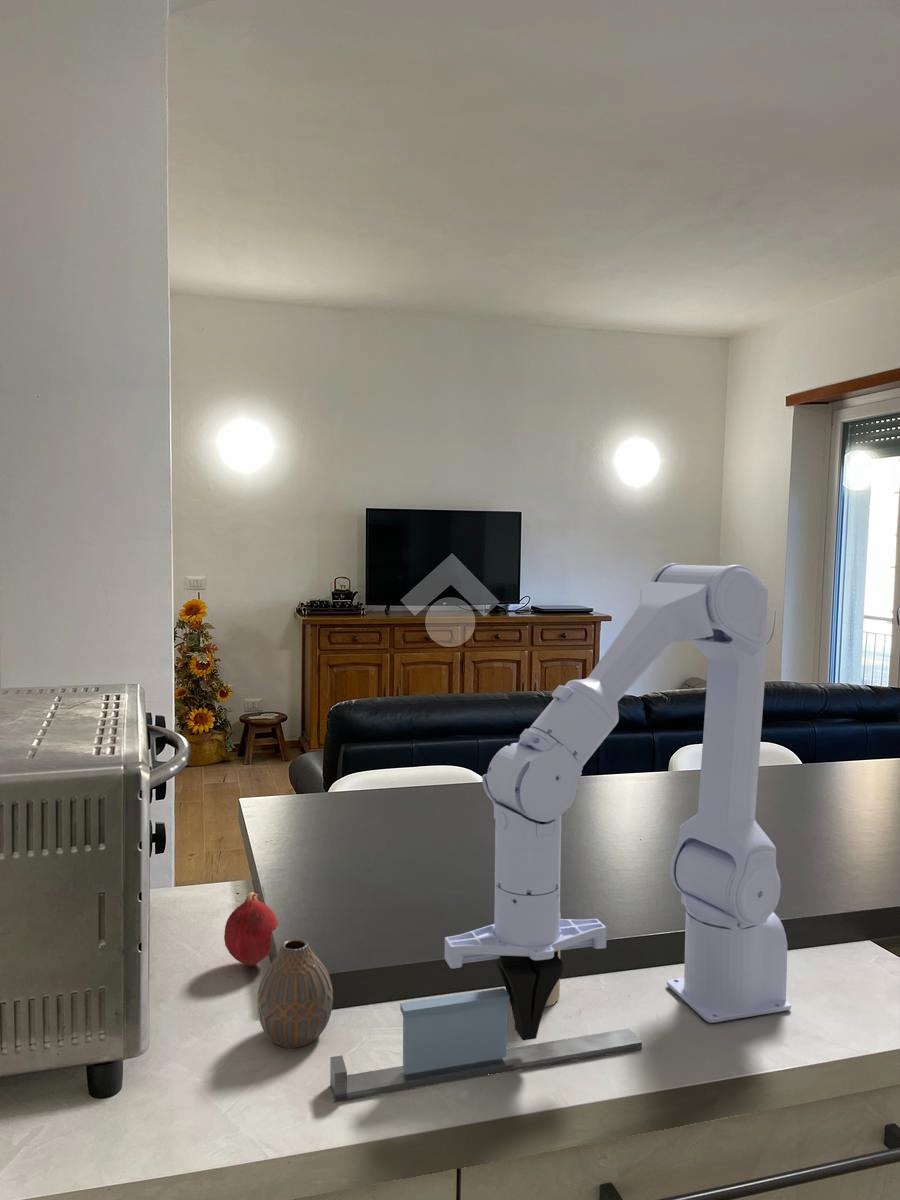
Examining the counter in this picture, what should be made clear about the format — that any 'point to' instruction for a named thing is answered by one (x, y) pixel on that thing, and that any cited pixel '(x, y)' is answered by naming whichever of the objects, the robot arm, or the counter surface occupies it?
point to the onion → (250, 931)
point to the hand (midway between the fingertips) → (525, 1033)
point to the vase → (295, 996)
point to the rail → (478, 1065)
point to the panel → (454, 1030)
